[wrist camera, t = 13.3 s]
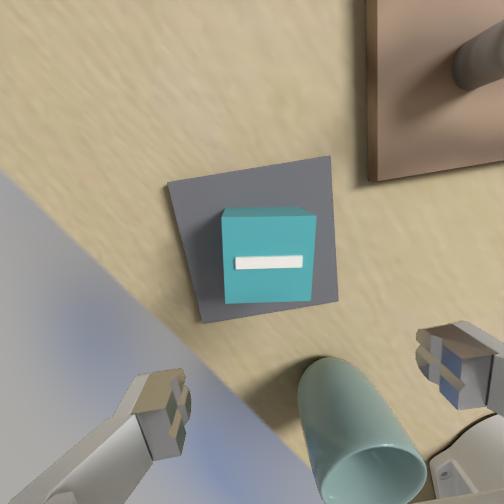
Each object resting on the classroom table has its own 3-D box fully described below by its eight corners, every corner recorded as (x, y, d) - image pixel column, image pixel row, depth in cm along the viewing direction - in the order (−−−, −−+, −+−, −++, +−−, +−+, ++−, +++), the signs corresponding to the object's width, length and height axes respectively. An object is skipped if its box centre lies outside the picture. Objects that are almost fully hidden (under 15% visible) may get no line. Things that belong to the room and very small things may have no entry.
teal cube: (298, 206, 20) (317, 216, 15) (295, 273, 22) (311, 302, 17) (225, 207, 20) (221, 217, 15) (228, 275, 22) (225, 305, 17)
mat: (334, 296, 24) (338, 301, 23) (204, 318, 24) (202, 323, 23) (325, 156, 20) (330, 155, 19) (170, 182, 20) (166, 182, 19)
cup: (330, 411, 28) (376, 530, 19) (276, 384, 27) (297, 499, 17) (374, 365, 27) (450, 469, 17) (320, 333, 25) (370, 428, 16)
